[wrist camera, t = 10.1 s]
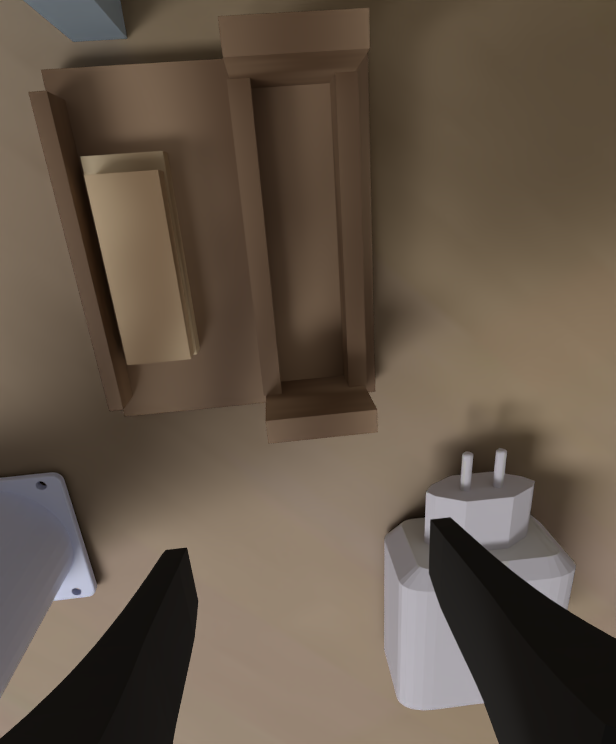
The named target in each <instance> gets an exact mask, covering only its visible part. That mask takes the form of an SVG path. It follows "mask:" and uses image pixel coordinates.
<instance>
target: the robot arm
mask: <svg viewBox="0 0 616 744" xmlns="http://www.w3.org/2000/svg"><path fill="white" fill-rule="evenodd" d="M39 481H42V482H44V483H45V484H46V485H47V486H45V485H42V484H40V482H39ZM429 575H430V579H431V582H432V585H433V588H434V591H435V594H436V597H437V600H438V602H439V605H440V608H441V610H442V612H443V615H444V617H445V619H446V621H447V623H448V625H449V627H450V630H451V632H452V634H453V636H454V638H455V640H456V642H457V645H458V647H459V649H460V651H461V653H462V655H463V657H464V659H465V662H466V664H467V666H468V668H469V670H470V672H471V674H472V676H473V679H474V681H475V683H476V685H477V687H478V690H479V692H480V695H481V697H482V699H483V702H484V704H485V707H486V710H487V712H488V715H489V718H490V720H491V723H492V726H493V729H494V731H495V734H496V737H497V740H498V742H499V744H616V638H614V637H612V636H610V635H608V634H607V633H605V632H603V631H601V630H600V629H598V628H596V627H594V626H592V625H591V624H589V623H587V622H586V621H584V620H582V619H581V618H579V617H577V616H576V615H574V614H572V613H571V612H569V611H568V610H566V609H565V608H563V607H562V606H560V605H559V604H557V603H556V602H554V601H553V600H551V599H549V598H548V597H547V596H545V595H544V594H542V593H541V592H539V591H538V590H537V589H535V588H534V587H533V586H531V585H530V584H529V583H527V582H526V581H525V580H523V579H522V578H521V577H519V576H518V575H517V574H516V573H514V572H513V571H512V570H510V569H509V568H508V567H507V566H506V565H504V564H503V563H502V562H501V561H500V560H498V559H497V558H496V557H495V556H494V555H492V554H491V553H490V552H489V551H488V550H487V549H485V548H484V547H483V546H482V545H481V544H480V543H479V542H478V541H476V540H475V539H474V538H473V537H472V536H471V535H470V534H469V533H468V532H466V531H465V530H464V529H463V528H462V527H461V526H460V525H459V524H458V523H456V522H455V521H454V520H453V519H452V518H451V517H447V518H438V519H430V544H429ZM76 588H79V589H80V590H79V589H76ZM96 589H97V583H96V580H95V577H94V573H93V570H92V567H91V564H90V560H89V557H88V554H87V551H86V548H85V544H84V541H83V538H82V535H81V532H80V528H79V525H78V522H77V519H76V516H75V512H74V509H73V506H72V503H71V499H70V496H69V493H68V490H67V487H66V483H65V480H64V478H63V476H61V475H60V474H58V473H55V472H50V473H41V474H31V475H22V476H12V477H3V478H0V698H1V696H2V694H3V692H4V690H5V688H6V687H7V685H8V683H9V681H10V679H11V677H12V676H13V674H14V672H15V670H16V668H17V666H18V664H19V663H20V661H21V659H22V657H23V655H24V653H25V652H26V650H27V648H28V646H29V644H30V642H31V641H32V639H33V637H34V635H35V633H36V631H37V629H38V628H39V626H40V624H41V622H42V620H43V618H44V617H45V615H46V613H47V611H48V609H49V607H50V606H51V604H52V602H53V601H56V600H64V599H72V598H81V597H89V596H92V595H93V594H94V593H95V591H96ZM197 609H198V598H197V593H196V588H195V583H194V579H193V574H192V569H191V564H190V560H189V555H188V550H187V548H179V549H171V550H165V552H164V553H163V554H162V555H161V557H160V558H159V560H158V561H157V563H156V564H155V566H154V567H153V569H152V570H151V572H150V573H149V575H148V576H147V578H146V579H145V580H144V582H143V583H142V585H141V586H140V588H139V589H138V590H137V592H136V593H135V595H134V596H133V597H132V599H131V600H130V601H129V603H128V604H127V605H126V607H125V608H124V610H123V611H122V612H121V614H120V615H119V616H118V617H117V619H116V620H115V621H114V622H113V624H112V625H111V626H110V627H109V629H108V630H107V631H106V632H105V634H104V635H103V636H102V637H101V639H100V640H99V641H98V642H97V643H96V645H95V646H94V647H93V648H92V649H91V650H90V652H89V653H88V654H87V655H86V656H85V657H84V658H83V660H82V661H81V662H80V663H79V664H78V665H77V666H76V667H75V668H74V669H73V670H72V672H71V673H70V674H69V675H68V676H67V677H66V678H65V679H64V680H63V681H62V682H61V683H60V684H59V685H58V686H57V687H56V688H55V689H54V690H53V691H52V692H51V693H50V694H49V695H48V696H47V697H46V698H45V699H44V700H42V701H41V702H40V703H39V704H38V705H37V706H36V707H35V708H34V709H33V710H32V711H31V712H30V713H29V714H28V715H27V716H26V717H24V718H23V719H22V720H21V721H20V722H19V723H18V724H17V725H15V726H14V727H13V728H12V729H11V730H10V731H9V732H7V733H6V734H5V735H4V736H3V737H2V738H0V744H173V739H174V733H175V728H176V722H177V718H178V713H179V709H180V704H181V699H182V695H183V690H184V685H185V681H186V676H187V672H188V667H189V662H190V657H191V653H192V648H193V643H194V638H195V629H196V620H197Z"/></svg>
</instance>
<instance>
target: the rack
mask: <svg viewBox="0 0 616 744" xmlns="http://www.w3.org/2000/svg"><path fill="white" fill-rule="evenodd" d="M218 21H219V30H220V38H221V47H222V55H223V59H209V60H193V61H177V62H160V63H144V64H127V65H111V66H94V67H78V68H61V69H45V70H41V72H42V76H43V81H44V85H45V89H46V91H35V92H28V93H29V96H30V100H31V104H32V108H33V112H34V116H35V120H36V124H37V128H38V132H39V136H40V140H41V144H42V148H43V152H44V156H45V160H46V164H47V167H48V171H49V175H50V179H51V183H52V187H53V191H54V195H55V199H56V203H57V207H58V211H59V215H60V219H61V223H62V227H63V231H64V235H65V238H66V242H67V246H68V250H69V254H70V258H71V262H72V266H73V270H74V274H75V278H76V282H77V286H78V290H79V294H80V298H81V302H82V306H83V309H84V313H85V317H86V321H87V325H88V329H89V333H90V337H91V341H92V345H93V349H94V353H95V357H96V361H97V365H98V369H99V373H100V377H101V380H102V384H103V388H104V392H105V396H106V400H107V404H108V408H109V411H116V410H123V412H124V416H125V417H126V416H136V415H146V414H156V413H166V412H176V411H186V410H196V409H206V408H216V407H226V406H236V405H246V404H256V403H266V428H267V436H268V444H270V443H279V442H289V441H298V440H308V439H317V438H327V437H336V436H346V435H355V434H365V433H374V432H378V423H377V408H376V406H375V405H374V403H373V401H372V399H371V397H370V395H369V393H368V392H375V355H374V308H373V261H372V214H371V167H370V120H369V73H368V51H369V49H370V21H369V8H356V9H338V10H320V11H302V12H284V13H266V14H248V15H230V16H218ZM152 151H164V152H166V153H168V159H169V165H170V171H171V177H172V183H173V189H174V195H175V201H176V207H177V213H178V219H179V225H180V231H181V237H182V243H183V249H184V255H185V262H186V268H187V274H188V280H189V286H190V292H191V298H192V304H193V310H194V316H195V322H196V328H197V334H198V340H199V346H200V349H199V351H198V353H197V354H196V355H193V356H192V358H191V359H187V360H177V361H166V362H155V363H145V364H134V365H127V362H126V357H125V353H124V348H123V344H122V340H121V335H120V331H119V327H118V322H117V318H116V313H115V309H114V305H113V300H112V296H111V292H110V287H109V283H108V279H107V274H106V270H105V265H104V261H103V257H102V252H101V248H100V244H99V239H98V235H97V230H96V226H95V222H94V217H93V213H92V209H91V204H90V200H89V195H88V191H87V187H86V182H85V178H84V171H83V167H82V162H81V158H80V157H81V156H95V155H110V154H124V153H138V152H152Z"/></svg>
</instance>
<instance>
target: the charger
mask: <svg viewBox="0 0 616 744" xmlns="http://www.w3.org/2000/svg"><path fill="white" fill-rule="evenodd" d="M506 457H507V451H506V450H505V449H503V448H499V449H497V450H496V456H495V466H494V472H483V473H473V474H472V465H473V453H471V452H469V451H466V452H464V453H463V454H462V467H461V475H453V476H449V477H447V478H445V479H443V480H441V481H439V482H436V483H434V484H432V485H431V486H430V487H429V489H428V490H427V491H426V508H425V518H416V519H409V520H406V521H404V522H402V523H401V524H399V525H398V526H397V527H396V528H394V529H393V530H392V531H390V532H389V533H388V534H387V535H386V536H385V571H384V650H385V654H386V658H387V662H388V665H389V669H390V673H391V677H392V681H393V685H394V688H395V692H396V696H397V699H398V700H399V702H400V703H401V704H403V705H404V706H406V707H408V708H411V709H416V710H434V709H442V708H450V707H457V706H465V705H473V704H481V703H484V702H483V699H482V697H481V695H480V692H479V690H478V687H477V685H476V683H475V681H474V679H473V676H472V674H471V672H470V670H469V668H468V666H467V664H466V662H465V659H464V657H463V655H462V653H461V651H460V649H459V647H458V645H457V642H456V640H455V638H454V636H453V634H452V632H451V630H450V627H449V625H448V623H447V621H446V619H445V617H444V615H443V612H442V610H441V608H440V605H439V602H438V600H437V597H436V594H435V591H434V588H433V585H432V582H431V579H430V575H429V544H430V519H438V518H447V517H451V518H452V519H453V520H454V521H455V522H456V523H458V524H459V525H460V526H461V527H462V528H463V529H464V530H465V531H466V532H468V533H469V534H470V535H471V536H472V537H473V538H474V539H475V540H476V541H478V542H479V543H480V544H481V545H482V546H483V547H484V548H485V549H487V550H488V551H489V552H490V553H491V554H492V555H494V556H495V557H496V558H497V559H498V560H500V561H501V562H502V563H503V564H504V565H506V566H507V567H508V568H509V569H510V570H512V571H513V572H514V573H516V574H517V575H518V576H519V577H521V578H522V579H523V580H525V581H526V582H527V583H529V584H530V585H531V586H533V587H534V588H535V589H537V590H538V591H539V592H541V593H542V594H544V595H545V596H547V597H548V598H549V599H551V600H553V601H554V602H556V603H557V604H559V605H560V606H562V607H563V608H565V609H566V610H567V609H568V604H569V599H570V593H571V588H572V583H573V578H574V573H575V568H576V565H575V563H574V561H573V560H572V559H571V557H570V556H569V555H568V554H567V553H566V552H565V550H564V549H563V548H562V547H561V546H560V545H559V543H558V542H557V541H556V540H555V539H554V538H553V536H552V535H551V534H550V533H549V532H548V531H547V529H546V528H545V527H544V526H543V525H542V524H541V523H540V522H539V521H538V520H537V519H535V518H534V517H533V516H532V515H531V514H530V511H531V504H532V497H533V490H534V483H535V481H533V480H531V479H528V478H525V477H522V476H518V475H511V474H505V466H506Z"/></svg>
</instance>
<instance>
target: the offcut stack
mask: <svg viewBox="0 0 616 744" xmlns="http://www.w3.org/2000/svg"><path fill="white" fill-rule="evenodd" d="M80 158H81V162H82V167H83V171H84V178H85V182H86V187H87V191H88V195H89V200H90V204H91V209H92V213H93V217H94V222H95V226H96V230H97V235H98V239H99V244H100V248H101V252H102V257H103V261H104V265H105V270H106V274H107V279H108V283H109V287H110V292H111V296H112V300H113V305H114V309H115V313H116V318H117V322H118V327H119V331H120V335H121V340H122V344H123V348H124V353H125V357H126V362H127V365H134V364H145V363H155V362H166V361H177V360H187V359H191V358H192V356H193V355H196V354H197V353H198V351H199V349H200V346H199V340H198V334H197V328H196V322H195V316H194V310H193V304H192V298H191V292H190V286H189V280H188V274H187V268H186V262H185V255H184V249H183V243H182V237H181V231H180V225H179V219H178V213H177V207H176V201H175V195H174V189H173V183H172V177H171V171H170V165H169V159H168V153H166V152H164V151H152V152H138V153H124V154H110V155H95V156H81V157H80Z"/></svg>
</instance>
